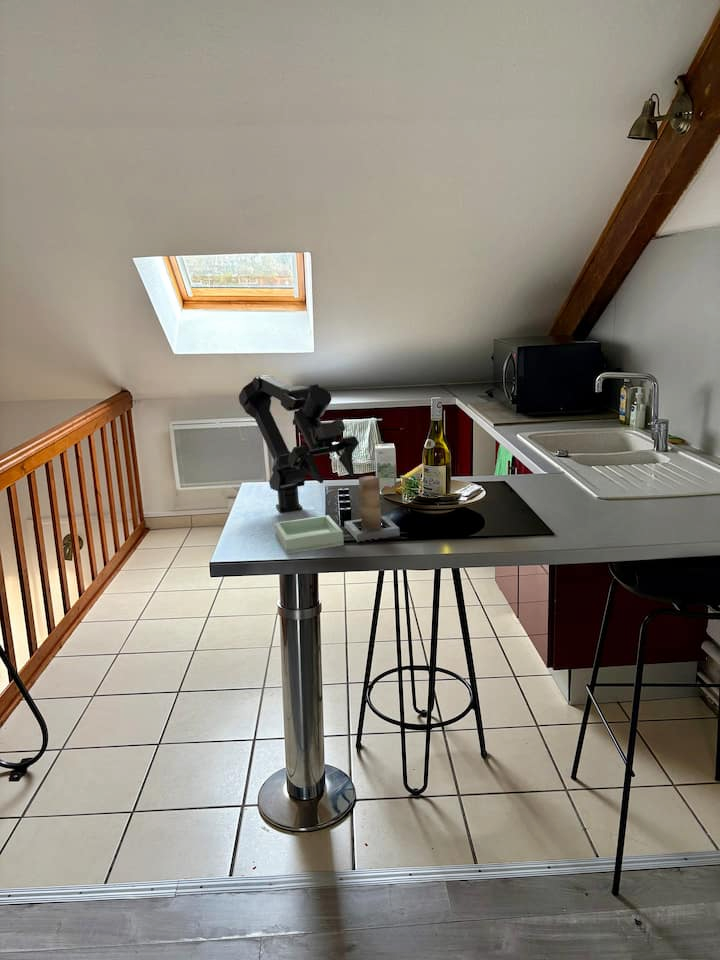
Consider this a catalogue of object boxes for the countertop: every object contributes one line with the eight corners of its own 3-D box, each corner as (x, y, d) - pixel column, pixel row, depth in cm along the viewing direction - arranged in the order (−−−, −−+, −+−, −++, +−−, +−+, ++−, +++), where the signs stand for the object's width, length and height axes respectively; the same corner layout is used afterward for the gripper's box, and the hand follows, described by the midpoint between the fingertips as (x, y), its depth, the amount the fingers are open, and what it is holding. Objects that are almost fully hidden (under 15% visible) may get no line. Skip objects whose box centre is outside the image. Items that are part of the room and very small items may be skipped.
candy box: (408, 505, 207) (407, 477, 205) (401, 505, 208) (400, 476, 206) (428, 490, 221) (427, 463, 219) (421, 489, 222) (421, 462, 220)
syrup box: (395, 489, 223) (393, 442, 220) (397, 495, 218) (395, 446, 214) (376, 490, 223) (374, 443, 219) (377, 496, 217) (375, 447, 214)
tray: (275, 535, 188) (274, 522, 187) (329, 527, 192) (328, 515, 191) (286, 553, 175) (285, 539, 174) (343, 545, 179) (342, 531, 178)
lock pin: (359, 530, 188) (356, 477, 185) (378, 527, 190) (375, 475, 186) (365, 536, 184) (362, 482, 180) (384, 533, 185) (381, 479, 181)
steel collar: (344, 528, 190) (344, 521, 190) (385, 522, 193) (385, 515, 193) (357, 542, 180) (356, 534, 180) (399, 535, 183) (399, 528, 183)
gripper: (290, 415, 180) (317, 468, 175) (353, 404, 190) (380, 454, 185) (276, 441, 188) (301, 492, 183) (337, 429, 199) (363, 478, 193)
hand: (337, 478), depth 186 cm, fingers open, 9 cm apart
